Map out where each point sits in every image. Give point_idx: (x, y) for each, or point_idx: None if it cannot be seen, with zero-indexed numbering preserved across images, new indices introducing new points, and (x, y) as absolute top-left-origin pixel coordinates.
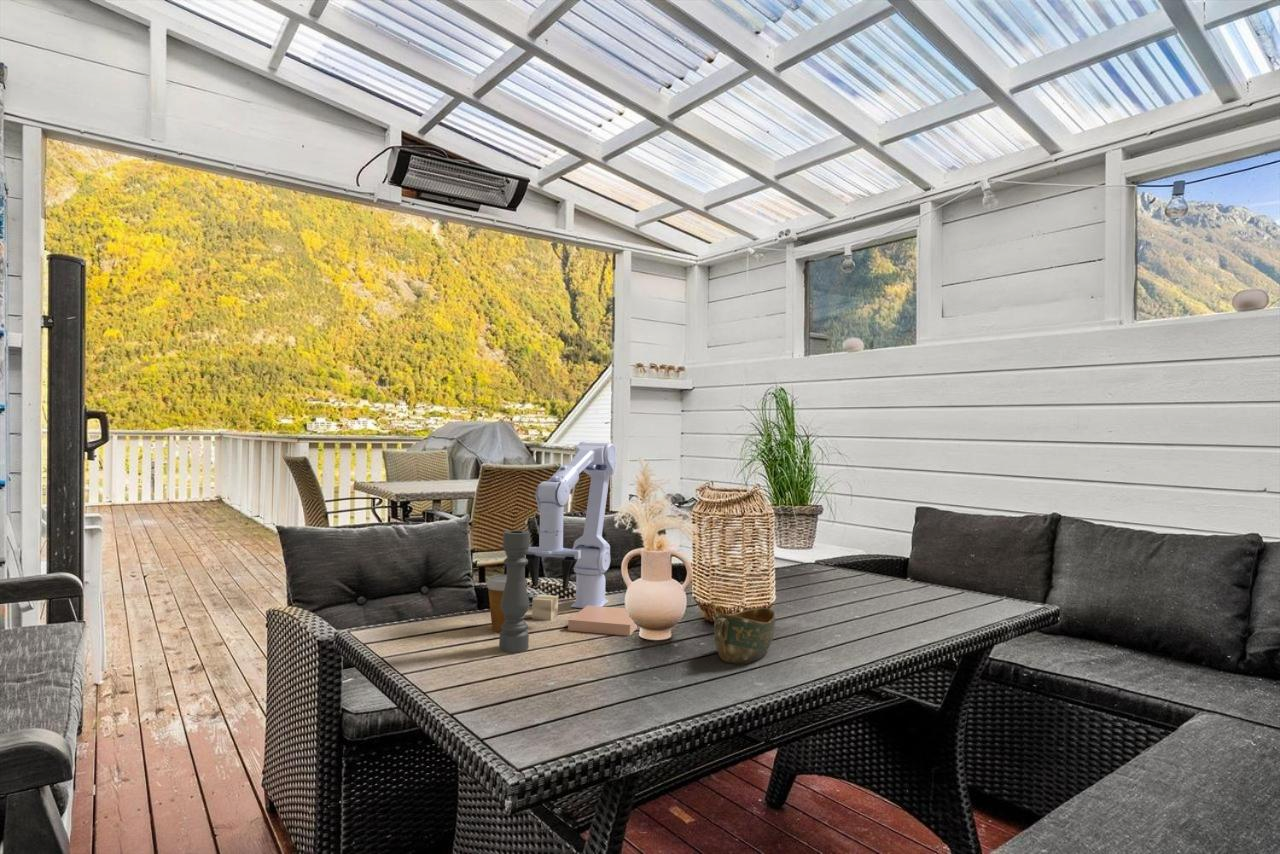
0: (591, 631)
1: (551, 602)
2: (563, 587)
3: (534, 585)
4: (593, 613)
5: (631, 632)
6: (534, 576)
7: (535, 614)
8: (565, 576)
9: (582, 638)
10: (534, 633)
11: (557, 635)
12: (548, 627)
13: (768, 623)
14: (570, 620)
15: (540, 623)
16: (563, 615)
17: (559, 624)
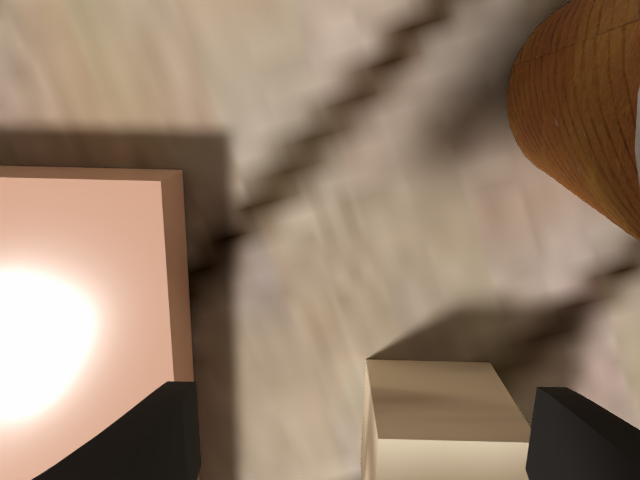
0: (21, 167)
1: (376, 431)
2: (180, 384)
3: (551, 390)
4: (64, 387)
5: None
6: (614, 459)
7: (475, 376)
8: (82, 459)
9: (19, 9)
10: (370, 34)
11: (204, 32)
12: (328, 203)
13: None
14: (145, 180)
15: (406, 276)
16: (328, 471)
17: (284, 287)
